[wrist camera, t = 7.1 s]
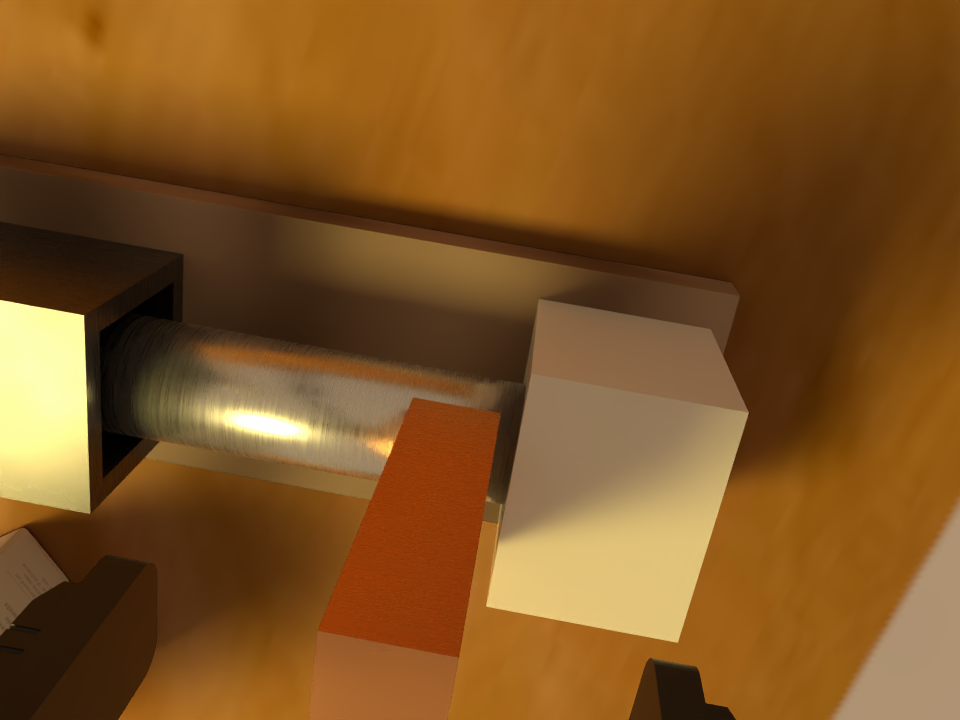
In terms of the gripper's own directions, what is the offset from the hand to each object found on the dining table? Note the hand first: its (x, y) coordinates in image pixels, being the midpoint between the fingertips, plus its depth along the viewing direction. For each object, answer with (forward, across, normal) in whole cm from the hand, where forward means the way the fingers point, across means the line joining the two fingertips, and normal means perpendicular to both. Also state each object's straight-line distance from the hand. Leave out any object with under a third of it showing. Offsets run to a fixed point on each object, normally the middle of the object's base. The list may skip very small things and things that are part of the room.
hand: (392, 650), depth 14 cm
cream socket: (+10, -4, 0) cm, 11 cm away
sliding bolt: (+9, +3, 0) cm, 10 cm away
